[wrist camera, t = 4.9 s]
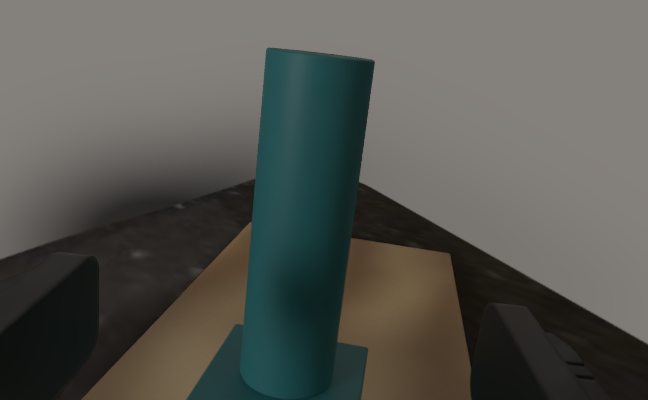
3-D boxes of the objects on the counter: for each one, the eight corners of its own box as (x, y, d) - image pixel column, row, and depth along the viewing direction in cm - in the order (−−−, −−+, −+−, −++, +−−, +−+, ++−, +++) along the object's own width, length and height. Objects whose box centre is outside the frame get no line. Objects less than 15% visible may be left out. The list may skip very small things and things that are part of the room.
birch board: (447, 267, 38) (450, 253, 38) (512, 661, 14) (521, 630, 13) (248, 235, 40) (250, 221, 40) (-20, 534, 15) (-21, 504, 15)
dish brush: (360, 403, 21) (411, 63, 18) (344, 507, 16) (411, 67, 13) (230, 378, 22) (257, 44, 18) (178, 471, 17) (201, 42, 13)
